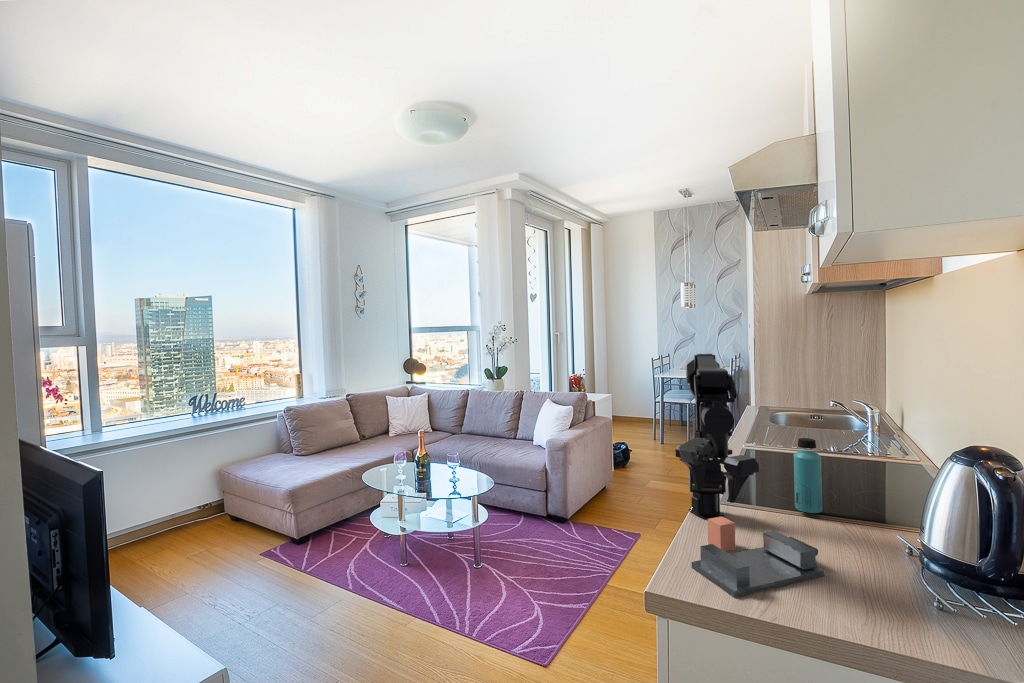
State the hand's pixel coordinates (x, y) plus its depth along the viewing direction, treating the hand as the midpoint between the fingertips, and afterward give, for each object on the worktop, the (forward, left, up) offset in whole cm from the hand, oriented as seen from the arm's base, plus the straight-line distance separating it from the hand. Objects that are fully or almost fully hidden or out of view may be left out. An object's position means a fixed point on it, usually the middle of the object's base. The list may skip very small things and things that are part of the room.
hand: (715, 496), depth 107 cm
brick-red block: (-3, -1, -12) cm, 13 cm away
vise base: (-1, +10, -12) cm, 16 cm away
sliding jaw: (-11, +10, -11) cm, 19 cm away
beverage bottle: (-37, -8, -13) cm, 40 cm away
